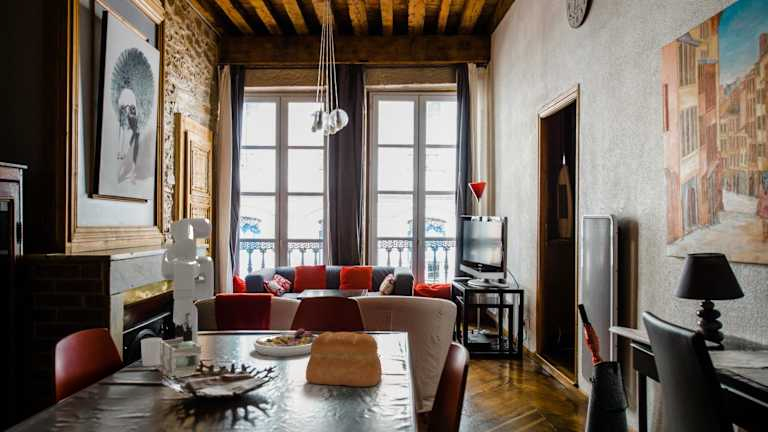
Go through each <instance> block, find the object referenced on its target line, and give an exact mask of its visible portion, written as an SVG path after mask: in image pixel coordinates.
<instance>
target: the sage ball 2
mask: <svg viewBox="0 0 768 432" xmlns="http://www.w3.org/2000/svg"><path fill="white" fill-rule="evenodd" d="M187 365H188V359H187V357H179V358H176V368H181V367H187Z"/></svg>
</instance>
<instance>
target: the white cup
mask: <svg viewBox="0 0 768 432" xmlns="http://www.w3.org/2000/svg"><path fill="white" fill-rule="evenodd" d="M160 341H163V338H162V337H148V338H143V339H141V340H140V343H141V344H140V345H141V346H140V348H141V361H142V363H141V364H142V366H144V367H153V366H156V364H160Z"/></svg>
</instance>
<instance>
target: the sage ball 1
mask: <svg viewBox="0 0 768 432" xmlns="http://www.w3.org/2000/svg"><path fill="white" fill-rule="evenodd" d="M189 347H193V344H192V343H191V342H189V341H188V342H181V343H180V344H179V346H178V349H182V348H189Z"/></svg>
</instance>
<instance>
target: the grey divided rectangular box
mask: <svg viewBox="0 0 768 432" xmlns="http://www.w3.org/2000/svg"><path fill="white" fill-rule="evenodd" d="M181 342H183V338H180V339H176V338H173V339H167V340H165V339H164V340H162V341H160V364H156V365H155V366H156V369H157V370H159V371H160V372H161V373H162V374H163V375H165V376H166V375H167V376H174V375H175V376H181V375H188V374H192V373H194V372H195V371H196V368H197V367H198V366H199V363H200V364H201V354H202V345H201V346H199V345H197V344H196V343H194V342H192V341H189V342H191V343H192V344H193V347H189V348H182V349H178V346H179V344H180V343H181ZM179 357H187V359H188V365H187V367H181V368H176V358H179ZM167 376H166V377H167Z"/></svg>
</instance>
